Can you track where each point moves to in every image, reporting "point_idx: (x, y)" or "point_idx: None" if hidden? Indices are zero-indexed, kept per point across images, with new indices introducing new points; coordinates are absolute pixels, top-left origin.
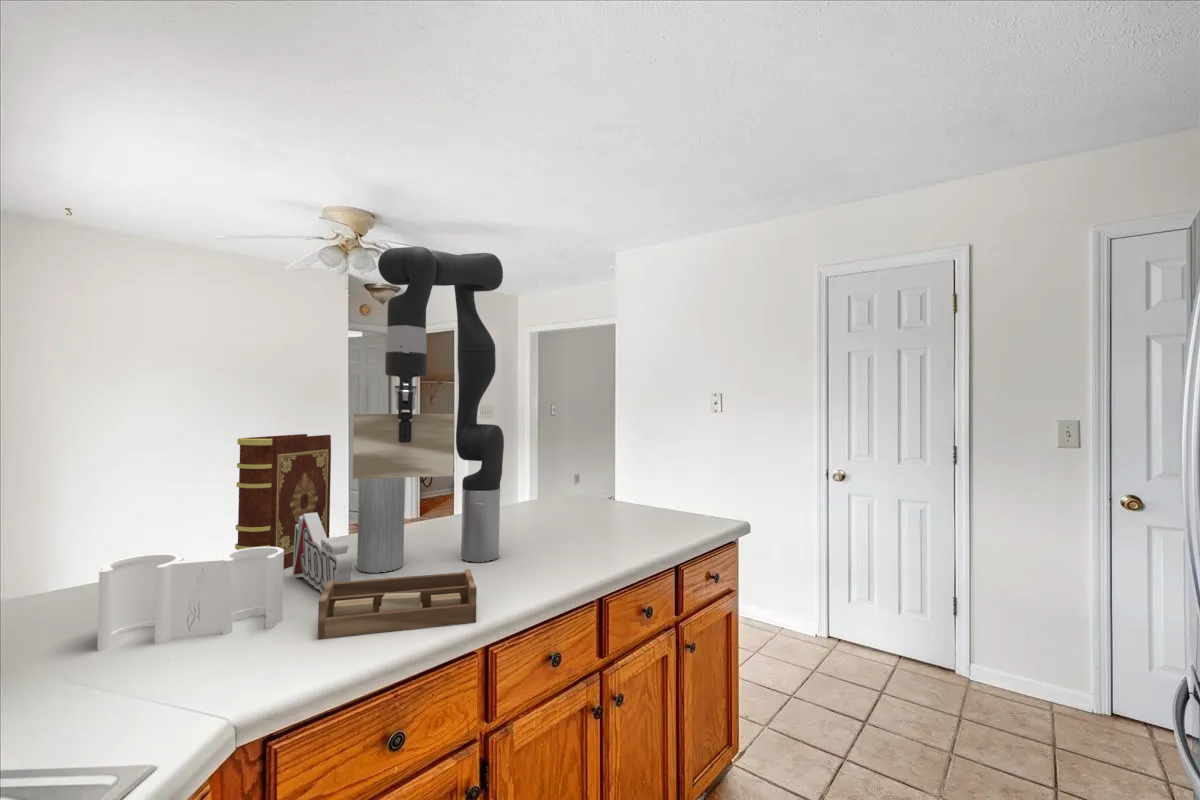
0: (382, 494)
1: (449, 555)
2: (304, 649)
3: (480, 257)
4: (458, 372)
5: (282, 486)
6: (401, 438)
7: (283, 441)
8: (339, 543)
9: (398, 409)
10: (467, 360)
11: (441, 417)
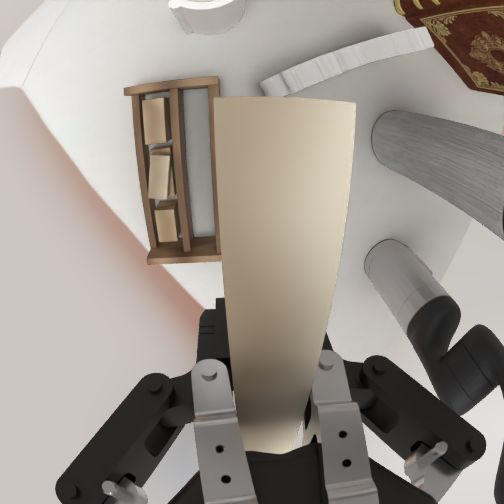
0: (442, 166)
1: (410, 226)
2: (115, 85)
3: None
4: None
5: (496, 16)
6: (202, 314)
7: None
8: (302, 79)
9: (112, 415)
10: None
11: None
